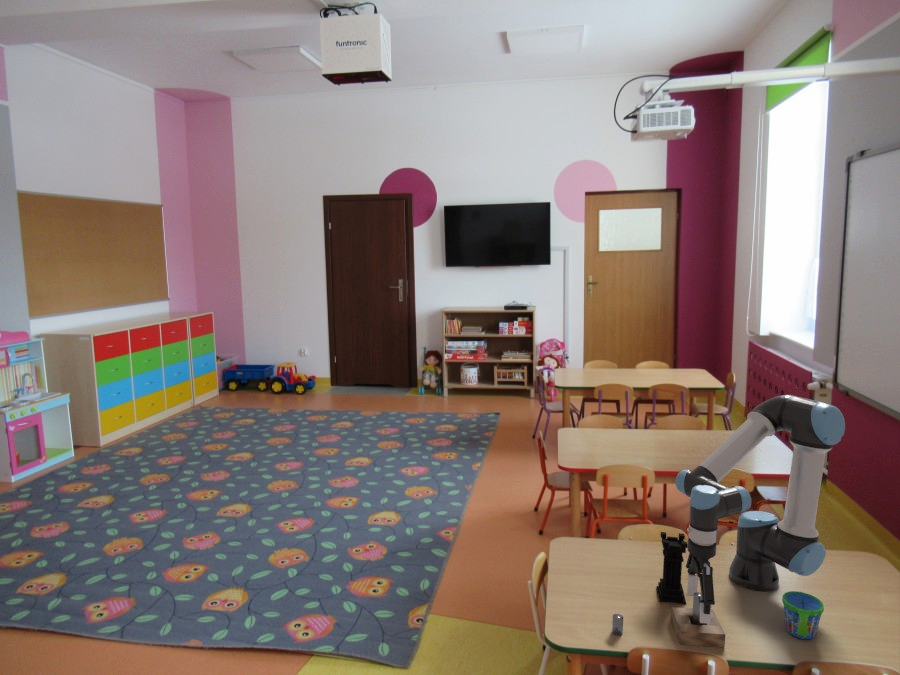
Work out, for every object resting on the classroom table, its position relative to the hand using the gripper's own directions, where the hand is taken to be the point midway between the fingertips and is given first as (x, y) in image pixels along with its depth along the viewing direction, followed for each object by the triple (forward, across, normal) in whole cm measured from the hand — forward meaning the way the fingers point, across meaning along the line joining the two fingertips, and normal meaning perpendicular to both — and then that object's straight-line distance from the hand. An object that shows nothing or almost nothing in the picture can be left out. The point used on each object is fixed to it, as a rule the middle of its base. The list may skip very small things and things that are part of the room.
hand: (698, 608), depth 184 cm
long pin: (+8, 0, 0) cm, 8 cm away
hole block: (+8, 0, 0) cm, 8 cm away
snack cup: (+8, -3, +30) cm, 31 cm away
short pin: (+8, +2, -23) cm, 24 cm away
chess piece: (+8, -19, -3) cm, 21 cm away
